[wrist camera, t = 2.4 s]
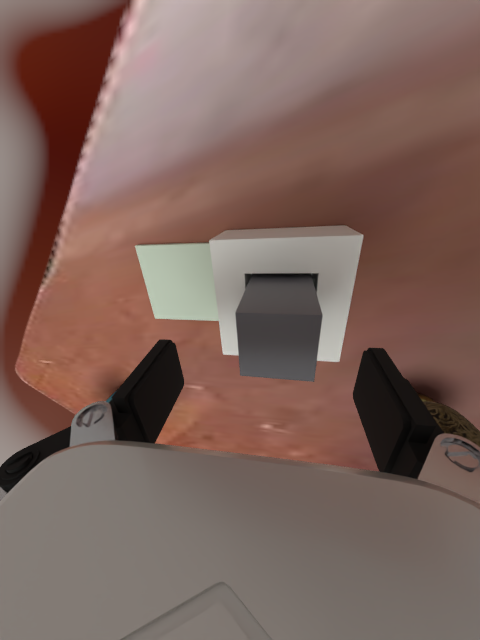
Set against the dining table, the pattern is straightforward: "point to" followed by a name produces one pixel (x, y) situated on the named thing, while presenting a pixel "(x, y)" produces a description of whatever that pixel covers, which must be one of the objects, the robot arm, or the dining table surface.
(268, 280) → the plug
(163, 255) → the mat
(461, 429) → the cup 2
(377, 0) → the dining table surface
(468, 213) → the dining table surface
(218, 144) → the dining table surface
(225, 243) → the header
